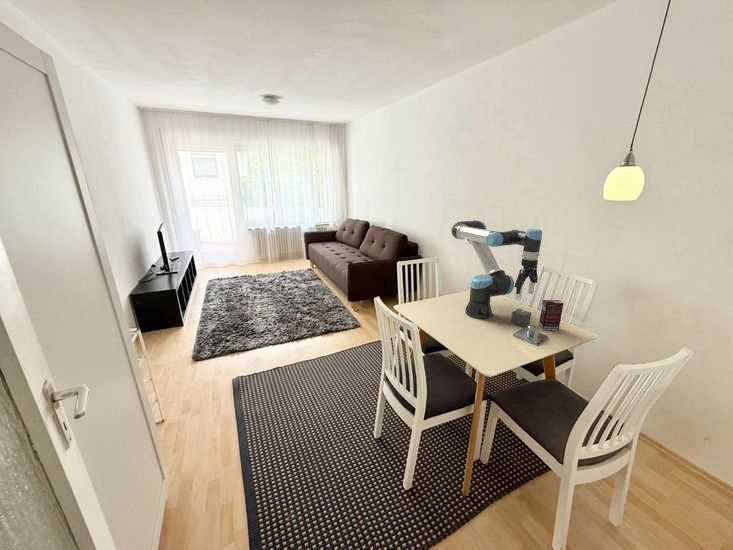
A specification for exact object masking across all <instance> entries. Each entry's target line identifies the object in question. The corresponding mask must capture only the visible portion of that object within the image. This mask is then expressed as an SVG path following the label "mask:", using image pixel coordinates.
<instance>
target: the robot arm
mask: <svg viewBox="0 0 733 550" xmlns="http://www.w3.org/2000/svg"><path fill="white" fill-rule="evenodd" d="M450 233H451V235H452V237H453V238H454V239H456V240H460V241H462V240H467V243H468V244H470V245H471V246H472V247H473V250H474V252H475V253H476V256H477V258H478V260H479V261H480V264H481V266H482V268H483V271H484V272H485V274H478V275H475V276H473V277H472V278H471V280H470V281H471V282H470V291H469V300H468V303H467V305H466V306H465V315H467V316H469V317H471V318H474V319H481V320H483V319H484V320H485V319H489V318H491V317H492V316H493V311H492V310H493V309H492V306H491V298H492V297H498V296H505V295H509V294H511V293H512V292H513V291H514V288H515V296H514V299H515V300H518V301H521V299H522V294H523V293H522V292H523V285H524V284H525V282H526V280H527V279H528V278H529V284H528V288H527V294H529V295H534V292H535V285H536V284H537V283H538V280H539V277H538V263H539V260H538V259H539V257H540V250H541V249H540V248H541V243H542V239H543V230H542V229H541V228H540V229H539V228H527V229H526V230H525V231H524V230H519V229H510V230H508V231H495V230H490V229H487V226H486V224H485V223H484V221H481V220H466V221H465V220H464V221H463V220H462V221H458V222H456V223H454V224H453V225H452V227H451V232H450ZM514 245H517V246H518V245H519V246H522V247H523V249H522V256H521V257H522V258H521V261H520V262H521V264H520V265H521V266H522V267H523V268H520V269H519V272H518V275H517V277H516V281H515V279H514V278H513V277H512V275H509V274H506V272H505V270H504V269H501V268H500V266H499V264H498V262H497V260H496V258H495V256H494V253H493V252H492V249H491V248H490V247H495V248H497V247H503V246H505V247H506V246H514Z"/></svg>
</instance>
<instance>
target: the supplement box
mask: <svg viewBox="0 0 733 550" xmlns="http://www.w3.org/2000/svg"><path fill="white" fill-rule="evenodd" d="M540 308H541V310H540V316H539V322H538V327H539V328H540V330H542V331H559V330H560V326H561V321H562V314H563V308H564V302H563V301H561V300H560V299H542V304H541V307H540Z"/></svg>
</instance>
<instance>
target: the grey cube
mask: <svg viewBox="0 0 733 550" xmlns="http://www.w3.org/2000/svg"><path fill="white" fill-rule="evenodd" d="M531 316H532V311H531V312H530V311H528V310H525V309H521V308H516V310H513V311H512V312H511V319H510V323H511V324H512V325H516V326H518V327H521V328H524V327H525V328H526V327H528V325H531V324H530V323H531V319H532V317H531Z"/></svg>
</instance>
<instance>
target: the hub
mask: <svg viewBox="0 0 733 550" xmlns="http://www.w3.org/2000/svg"><path fill="white" fill-rule="evenodd" d="M512 337H515V338H517V339H518V340H522V341H524V342H527V343H529V344H531V345H534V346H538V345H540V344H541V343H543V342H544V341H546V340H547V339H549V335H546V334H544V333H541V332H538V331H536V326H535V325H533V324H529V325H527V327H526V326H525V327H521V328H520V329H519V330H517V331H515V332H513V333H512Z"/></svg>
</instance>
